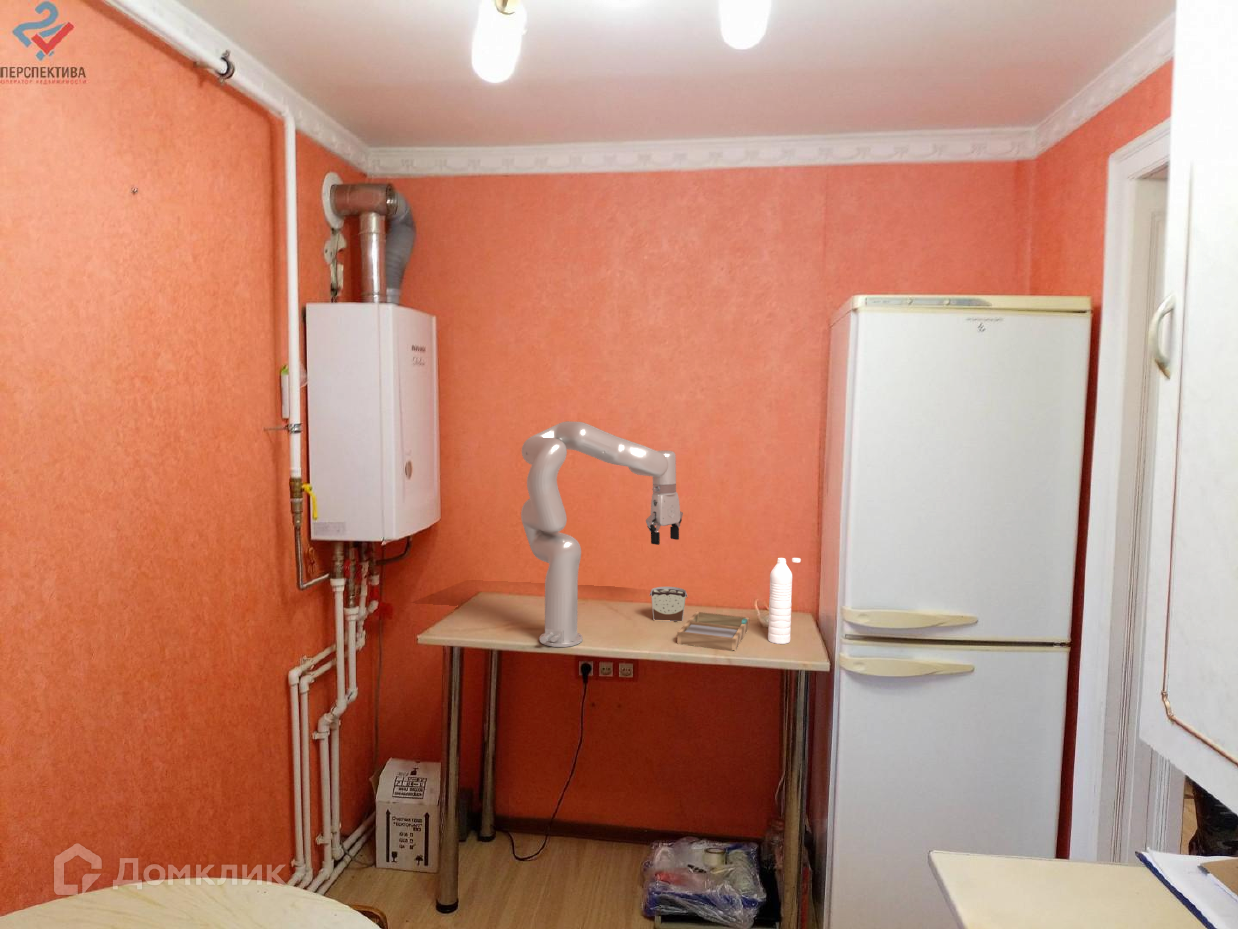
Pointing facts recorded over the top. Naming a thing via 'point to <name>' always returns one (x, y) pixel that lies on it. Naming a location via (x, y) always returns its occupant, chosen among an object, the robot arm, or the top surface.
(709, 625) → the compartment tray
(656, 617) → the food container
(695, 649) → the top surface
